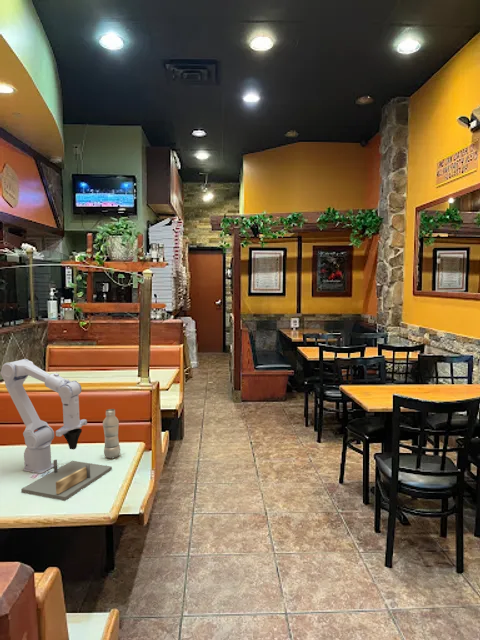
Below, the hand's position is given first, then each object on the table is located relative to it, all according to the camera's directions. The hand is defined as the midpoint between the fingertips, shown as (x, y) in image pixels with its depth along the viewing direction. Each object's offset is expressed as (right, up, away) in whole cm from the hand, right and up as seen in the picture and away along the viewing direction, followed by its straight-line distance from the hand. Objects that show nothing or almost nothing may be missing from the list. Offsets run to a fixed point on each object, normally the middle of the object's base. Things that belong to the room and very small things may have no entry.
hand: (72, 448), depth 160 cm
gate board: (+1, -10, -6) cm, 12 cm away
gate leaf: (+5, -9, -13) cm, 17 cm away
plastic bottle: (+11, -8, +15) cm, 20 cm away
